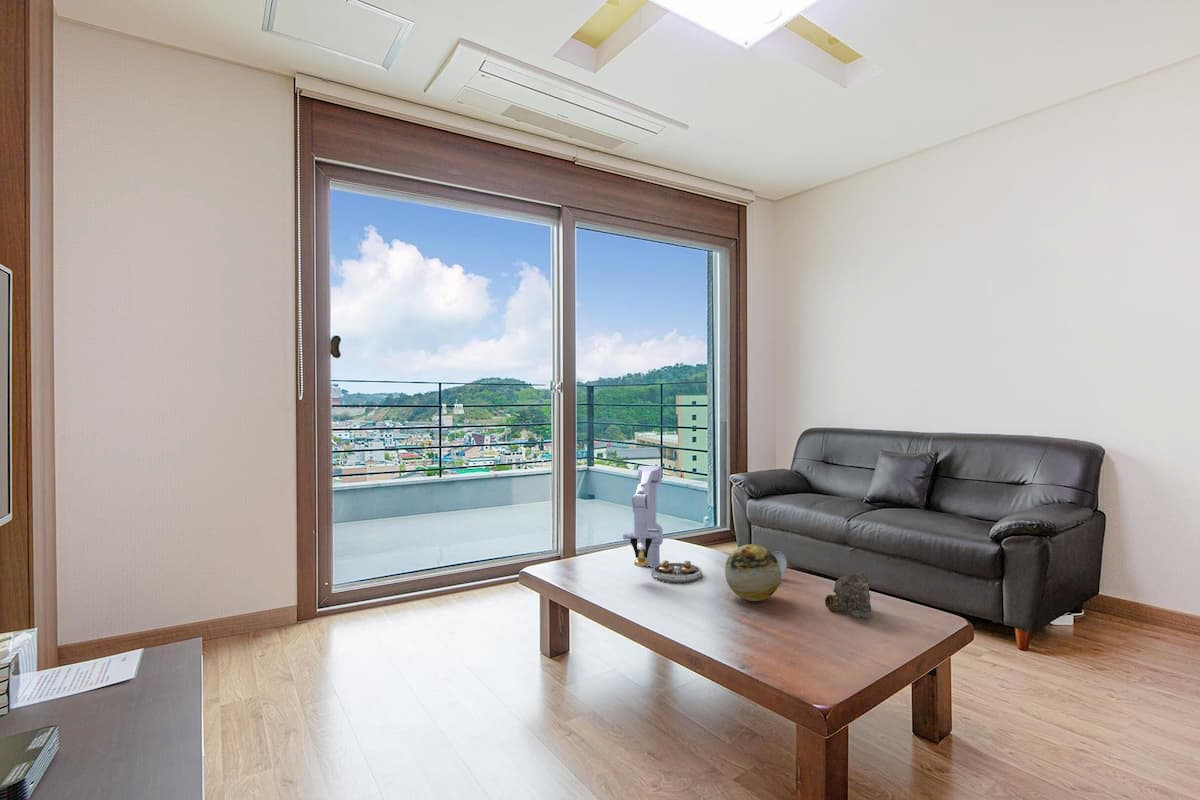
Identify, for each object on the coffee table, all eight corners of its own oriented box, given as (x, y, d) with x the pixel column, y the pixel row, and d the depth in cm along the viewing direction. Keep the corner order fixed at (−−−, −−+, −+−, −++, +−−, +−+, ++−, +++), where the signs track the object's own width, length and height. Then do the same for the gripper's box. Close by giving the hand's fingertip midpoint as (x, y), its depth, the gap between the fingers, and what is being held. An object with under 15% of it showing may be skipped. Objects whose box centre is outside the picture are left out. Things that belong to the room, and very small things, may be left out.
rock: (880, 568, 200) (832, 556, 206) (875, 609, 192) (825, 595, 198) (874, 592, 213) (829, 580, 219) (868, 631, 205) (821, 618, 211)
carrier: (643, 579, 249) (643, 566, 249) (663, 566, 267) (663, 554, 267) (691, 586, 239) (691, 573, 239) (708, 572, 257) (708, 560, 257)
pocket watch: (789, 553, 244) (762, 559, 236) (789, 581, 244) (763, 587, 236) (770, 548, 252) (744, 554, 244) (770, 575, 252) (744, 581, 244)
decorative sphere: (718, 604, 218) (717, 548, 218) (733, 588, 235) (732, 536, 235) (775, 612, 209) (774, 554, 208) (786, 595, 226) (785, 541, 226)
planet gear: (631, 565, 244) (631, 550, 244) (638, 561, 250) (637, 547, 249) (645, 567, 241) (644, 552, 241) (651, 563, 247) (651, 548, 246)
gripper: (622, 525, 242) (622, 559, 242) (658, 525, 240) (659, 560, 240) (623, 521, 249) (624, 554, 249) (659, 522, 247) (659, 555, 247)
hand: (641, 557), depth 245 cm, fingers closed on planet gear, 3 cm apart
